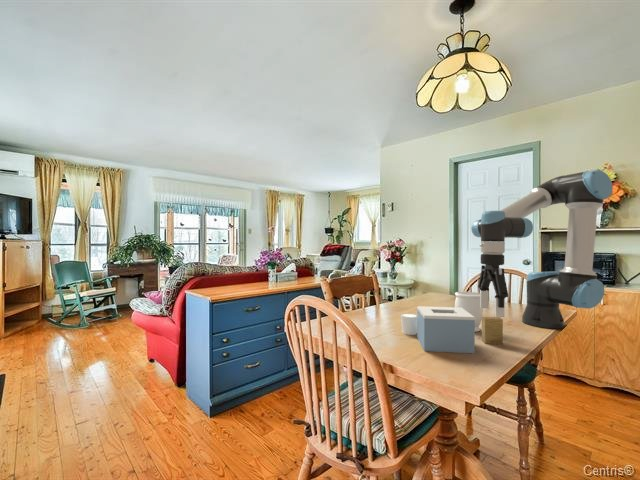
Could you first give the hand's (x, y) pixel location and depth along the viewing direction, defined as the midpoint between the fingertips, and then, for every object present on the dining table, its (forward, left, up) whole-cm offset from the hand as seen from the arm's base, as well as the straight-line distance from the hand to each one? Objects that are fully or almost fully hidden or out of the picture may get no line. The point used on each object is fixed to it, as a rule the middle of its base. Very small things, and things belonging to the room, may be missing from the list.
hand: (491, 312), depth 112 cm
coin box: (+18, +5, -11) cm, 21 cm away
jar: (+3, -16, -11) cm, 20 cm away
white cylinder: (+28, -8, -11) cm, 31 cm away
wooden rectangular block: (0, 0, -11) cm, 11 cm away
